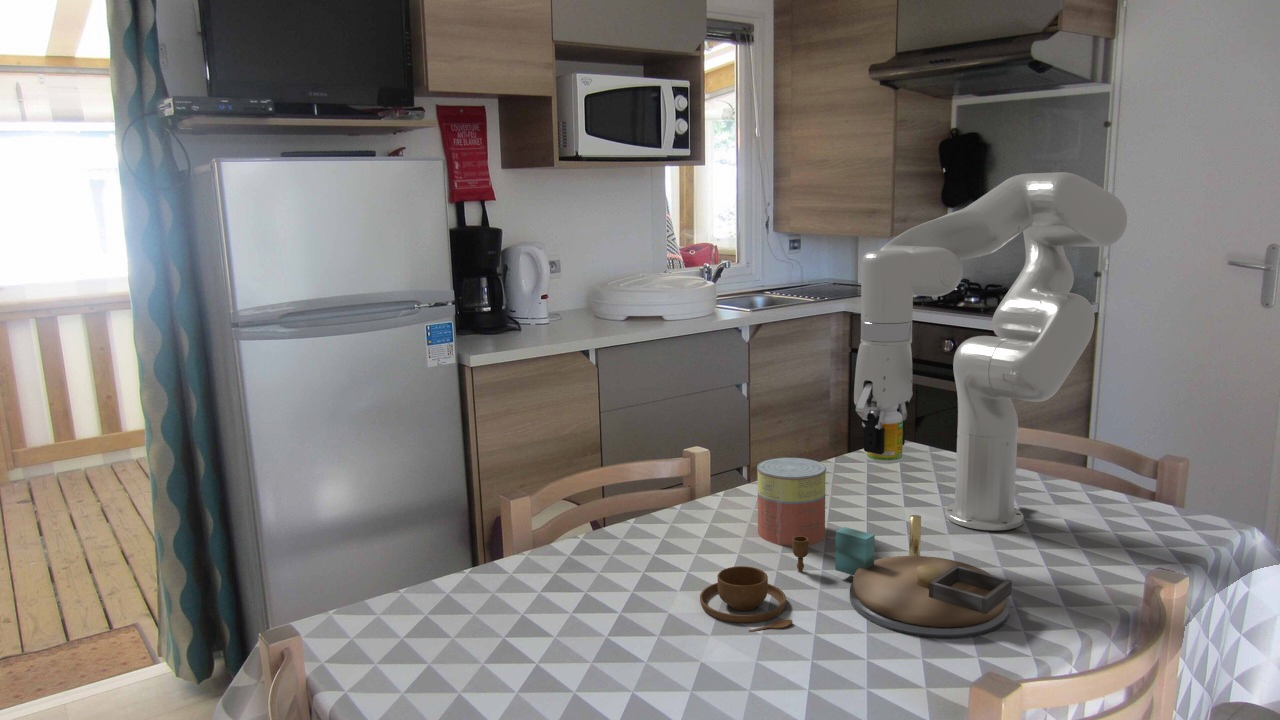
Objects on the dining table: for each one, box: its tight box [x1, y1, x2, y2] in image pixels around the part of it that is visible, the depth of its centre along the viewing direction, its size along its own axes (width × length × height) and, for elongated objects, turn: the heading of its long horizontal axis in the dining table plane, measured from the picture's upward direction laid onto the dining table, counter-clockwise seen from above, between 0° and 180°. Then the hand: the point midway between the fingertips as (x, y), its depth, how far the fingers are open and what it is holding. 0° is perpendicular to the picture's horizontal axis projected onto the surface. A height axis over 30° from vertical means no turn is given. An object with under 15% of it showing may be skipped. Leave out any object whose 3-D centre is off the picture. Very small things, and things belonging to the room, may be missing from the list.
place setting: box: [699, 536, 810, 633], centre depth 128 cm, size 18×20×6 cm
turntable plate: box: [834, 526, 1013, 627], centre depth 127 cm, size 24×20×6 cm
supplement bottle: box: [865, 403, 903, 465], centre depth 140 cm, size 5×5×10 cm
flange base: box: [849, 514, 1010, 639], centre depth 125 cm, size 21×21×8 cm
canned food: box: [756, 456, 827, 547], centre depth 151 cm, size 11×11×12 cm
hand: (884, 447), depth 141 cm, fingers closed on supplement bottle, 5 cm apart
